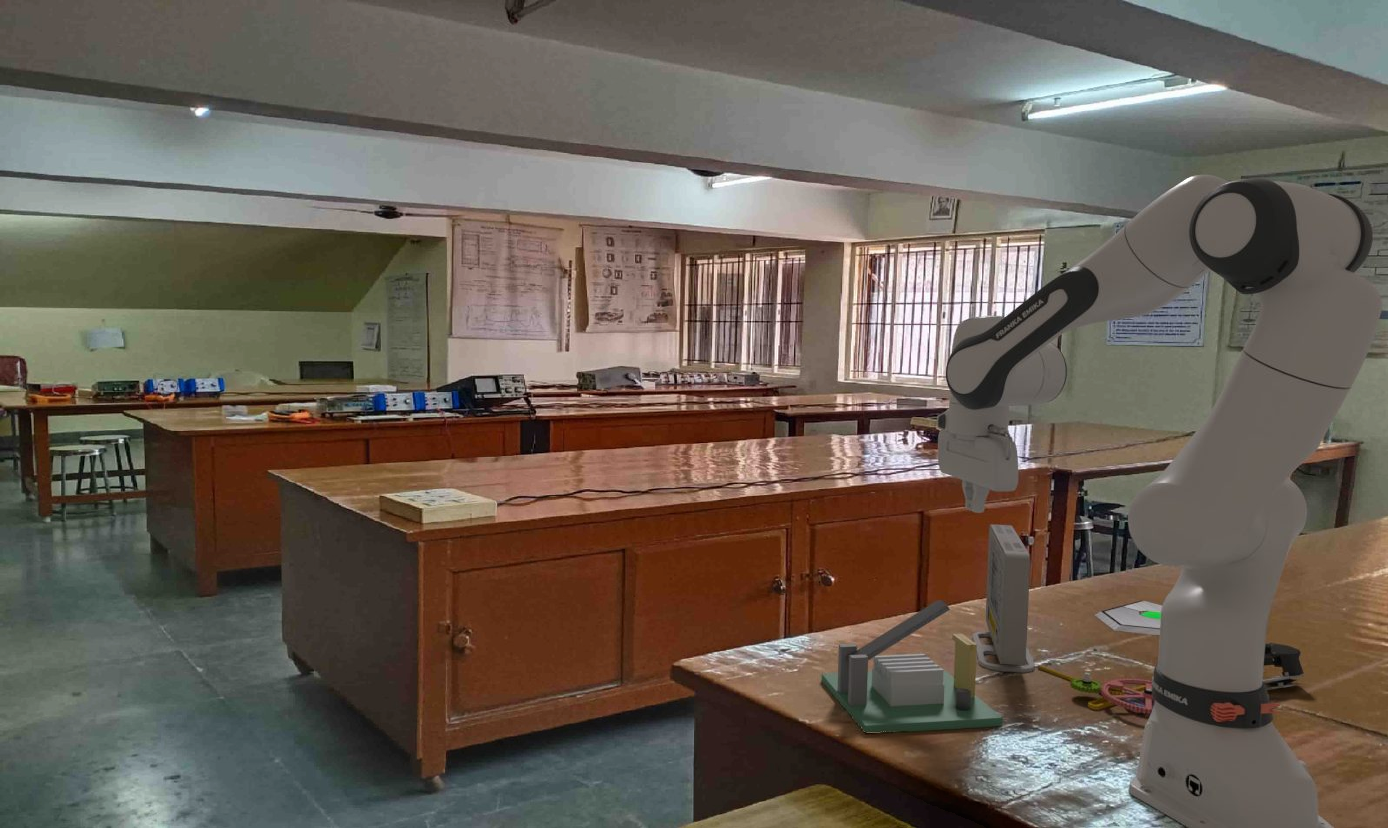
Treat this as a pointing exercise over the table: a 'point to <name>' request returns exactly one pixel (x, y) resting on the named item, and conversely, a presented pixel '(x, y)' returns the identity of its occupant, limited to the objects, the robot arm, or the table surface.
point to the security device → (1134, 617)
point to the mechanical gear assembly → (1113, 692)
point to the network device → (1006, 602)
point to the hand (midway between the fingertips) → (974, 511)
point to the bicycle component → (1283, 664)
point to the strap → (902, 630)
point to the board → (916, 712)
